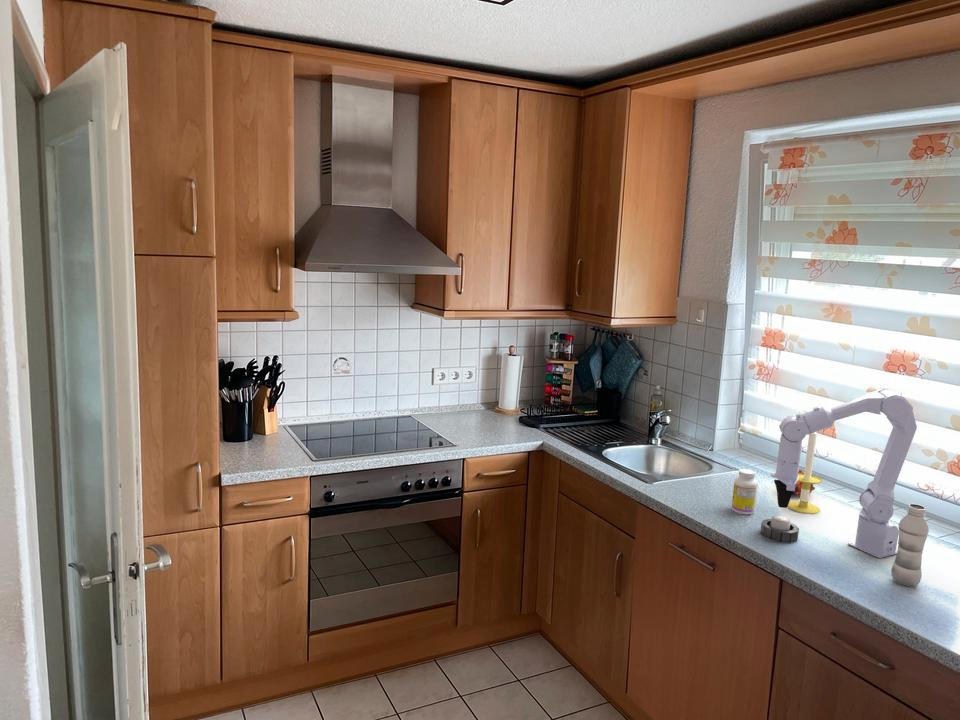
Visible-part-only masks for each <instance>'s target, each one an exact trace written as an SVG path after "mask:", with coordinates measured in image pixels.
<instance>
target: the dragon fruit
mask: <svg viewBox="0 0 960 720" xmlns="http://www.w3.org/2000/svg"><path fill="white" fill-rule="evenodd" d="M799 473H800V474H804V472H803V470H799V471H798V474H799ZM796 485H797V490H796V491H795V492H794V493H793V495H792V497H793V496H795V497H796V496H800V495H801V488H802V482H800V481H797V483H796ZM815 489H816V487H815V484H811V486H810V493H809V495H810V494H811V493H812V492H813V491H815Z"/></svg>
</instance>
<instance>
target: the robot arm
mask: <svg viewBox="0 0 960 720" xmlns="http://www.w3.org/2000/svg"><path fill="white" fill-rule="evenodd" d="M913 410H914V406H913V405H912V404H911V403H910V402H909V400H908V399H907V398H905V397H904V396H902V395H900V394H899V393H898V392H897V391H895V390H893V389H891V388H882V389H879V390H878V391H871V392H868V393H866V394H865V395H862V396H860V397H857V398H854V399H853V400H852V399H851V400H850V401H847V402H845V403H842V404H840V405H837V406H834V407H832V408H830V409H828V408H826V407H824V406H823V407H820V408H819V407H818V406H815V407H813V408H812V410H811V411H810V410H809V411H807V412H805V413H802V414H800V413H797V414H795V416H788V417H785V418H784V419H783V420H782V421H781V422H780V424H779V431H780V432H781V434H780V438H779V439H780V441H779V444H778V451H777V452H778V453H777V460H776V466H775V467H776V468H775V472H771V473H770V477H772V478H775V479H774V480H773V482H774V485H775V488H776V496H777V497H776V498H777V504H778V505H777V506H778V507H779V508H782V509H787V508H788V504H789V502H790V501H791V499H792V497H793V496H794V495H793V493H794V492H795V491H796V490H797V485H796V483H797V481H798V471H799V469H800V462H801V455H802V449H803V448H802V447H803V446H802V444H803V440H804V439H805V437H806V436H807V435H808V436H809V434H812V433H815V432H816V433H818V432H820V431H823V430H826V429H829V428H831V427H832V426H833V425H834V423H835V422H836V421H838V420H842V419H845V418H849V417H852V416H855V415H859V414H863V413H871V414H874V415H881V413H882V414H883V415H885V416H886V418H887V420H888V421H889V423H890V424H891V426H892V429H891V432H890V434H889V437H888V440H887V443H886V445H885V448H884V450H883V453H882V455H881V458H880V461H879V464H878V465H877V469H876V472H875V475H874V476H873V480H871V481H870V482H868V484H867V487H866V488H865V489H864V490H863V491H862V492H861V493H860V495H859V498H858V499H859V500H858V502H859V504H860V506H861V510H860V511H859V513H858V522H857V528H856V534H855V540H853V541H849V542H847V545H848V546H851V547H854V548H855V549H858V550H860V551H862V552H865V553H867V554H869V555H871V556H873V557H875V558H878V559H881V558H884V557H889V556H892V555H896V554H897V547H898V540H899V527H898V526H896V525H895V524H893V523H892V522H891V521H890V519H891V518H892V517H893V515H894V506H893V505H894V501H895V491H894V490H895V487H896V484H897V481H898V480H899V479H898V478H899V477H900V474H901V471H902V468H903V466H904V463H905V460H906V457H907V455H908V452H909V449H911V448H910V447H911V444H912V442H913V439H914V437H915V433H916V431H917V426H918V425H917V423H916V419H915V416H914V411H913ZM792 495H793V496H792Z"/></svg>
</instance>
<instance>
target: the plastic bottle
mask: <svg viewBox="0 0 960 720" xmlns="http://www.w3.org/2000/svg"><path fill="white" fill-rule="evenodd" d="M906 513H907V514H906V515H905V516H903V518H901V519H900V521H899V523H898V531H899V534H898V540H897V549H896V551H897V554H895V557H894V558H895V559H894V562H893V564H892V566H891V578H892V579H893V580H894V582H896V583H897V584H900V585H903V586H904V587H905V586H906V587H916V586H918V585H919V584H920V583H921V580H922V562H923V561H922V558H923V551H924V547H925V543H926V541H927V538H928V534H929V532H930V529H929V525H928V522H927V521H926V520H925V517H926V507H925V506H922V505H921V504H917V503H910V504H908V507H907V510H906Z"/></svg>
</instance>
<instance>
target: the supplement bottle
mask: <svg viewBox="0 0 960 720" xmlns="http://www.w3.org/2000/svg"><path fill="white" fill-rule="evenodd" d="M755 477H756V471H754V470H752V469H748V468H741V469H738V476H737V477H736V478H735V479H734V483H733V491H732V499H731V500H732V501H731V510H732V511H733V512H735V513H736V514H740V515H747V516H748V515H753V514H754V513H755V509H756V500H757V492H758V481H757V480H756V479H755Z"/></svg>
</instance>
